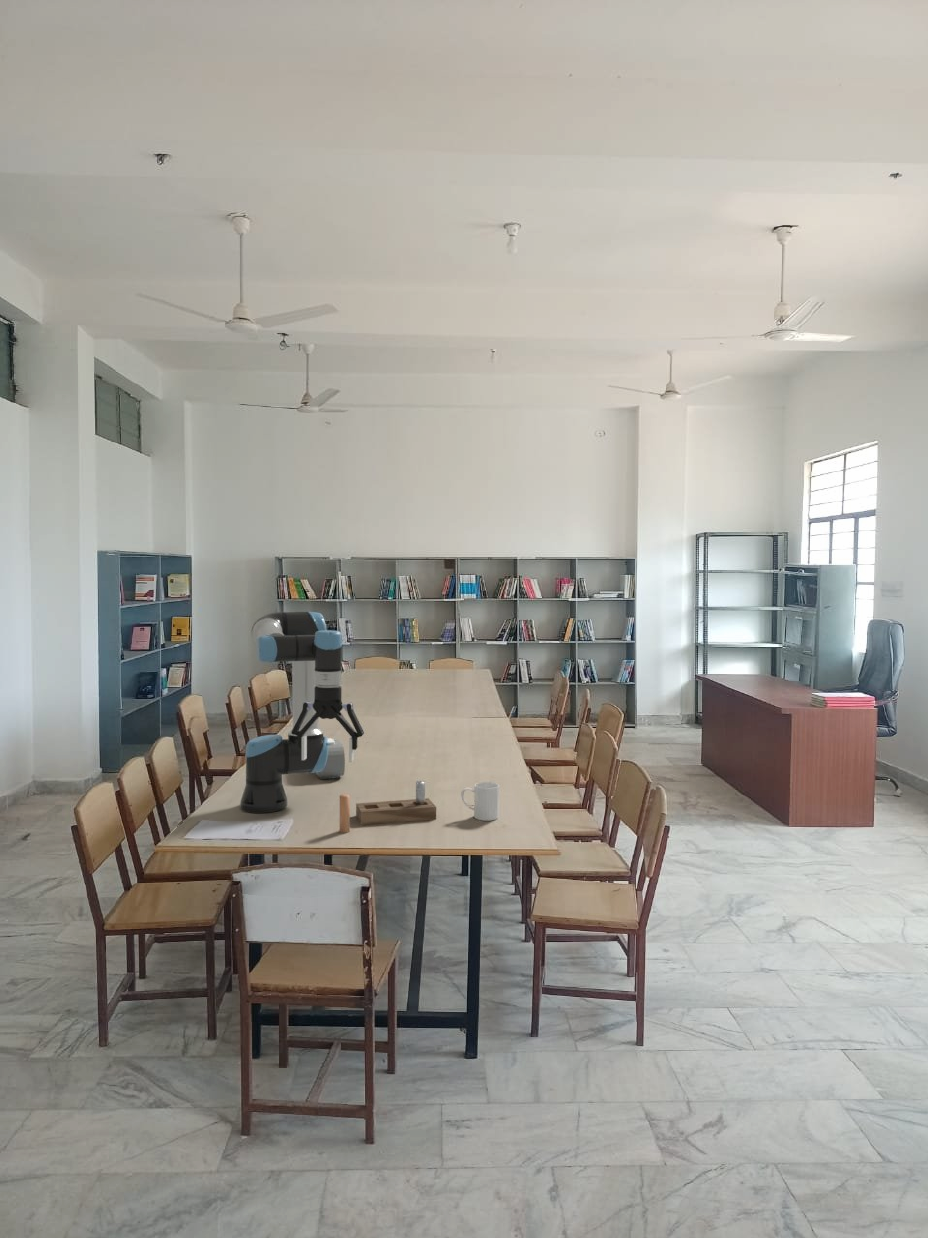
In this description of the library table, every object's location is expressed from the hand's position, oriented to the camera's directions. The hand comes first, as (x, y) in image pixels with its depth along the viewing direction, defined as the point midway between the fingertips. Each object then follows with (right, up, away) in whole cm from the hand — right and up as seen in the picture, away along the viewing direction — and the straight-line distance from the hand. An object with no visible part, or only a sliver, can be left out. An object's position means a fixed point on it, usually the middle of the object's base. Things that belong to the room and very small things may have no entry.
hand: (327, 760), depth 233 cm
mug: (+44, -24, +32) cm, 59 cm away
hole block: (+17, -24, +31) cm, 43 cm away
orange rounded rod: (+2, -24, +16) cm, 29 cm away
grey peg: (+24, -24, +33) cm, 48 cm away
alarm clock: (-14, -20, +84) cm, 88 cm away
